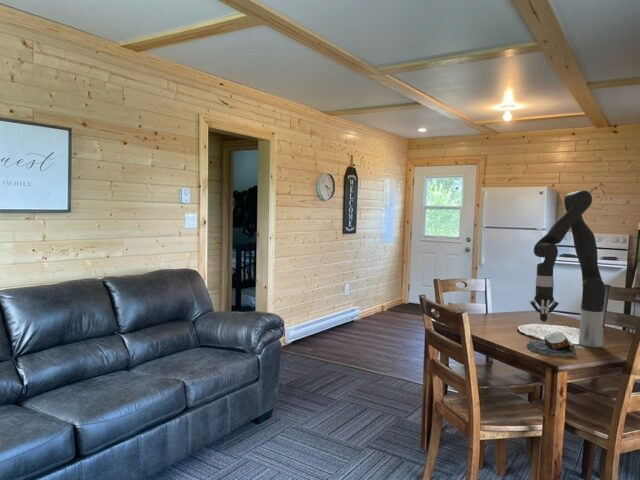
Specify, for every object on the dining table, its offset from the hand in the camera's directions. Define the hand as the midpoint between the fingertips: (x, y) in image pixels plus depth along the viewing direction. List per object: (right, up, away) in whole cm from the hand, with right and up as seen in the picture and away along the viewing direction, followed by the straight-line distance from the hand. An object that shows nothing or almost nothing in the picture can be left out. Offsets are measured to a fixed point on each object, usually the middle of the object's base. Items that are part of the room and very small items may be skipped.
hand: (543, 321), depth 221 cm
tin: (-1, -9, -4) cm, 10 cm away
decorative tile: (+1, -13, -6) cm, 15 cm away
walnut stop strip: (+8, -11, -5) cm, 14 cm away
